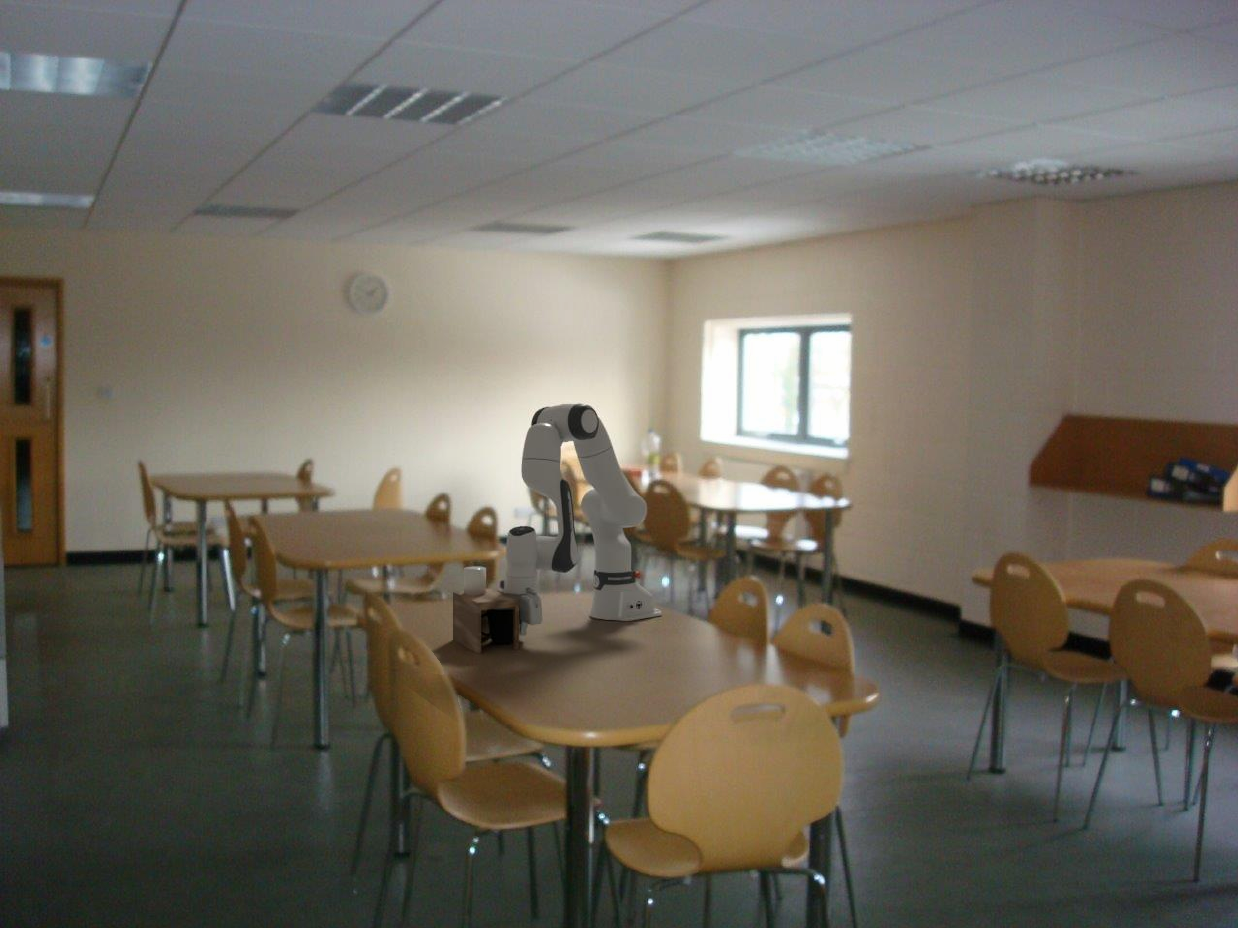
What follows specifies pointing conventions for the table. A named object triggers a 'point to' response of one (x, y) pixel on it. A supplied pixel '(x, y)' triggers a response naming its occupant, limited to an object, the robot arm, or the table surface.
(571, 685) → the table surface
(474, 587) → the white cylinder
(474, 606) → the open wooden crate
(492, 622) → the mug
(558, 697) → the table surface
